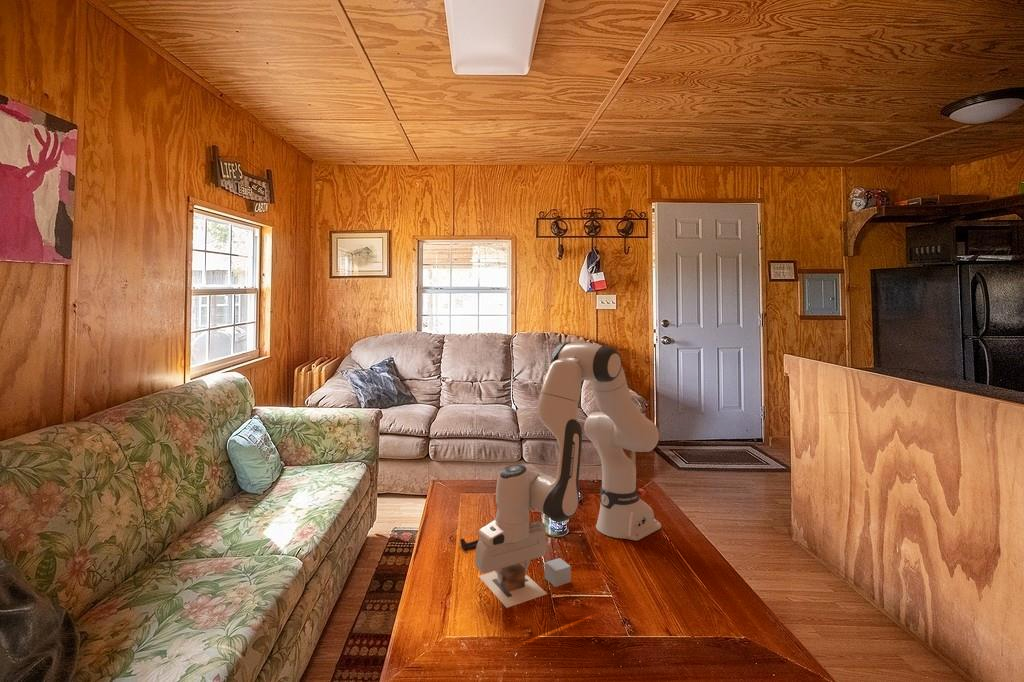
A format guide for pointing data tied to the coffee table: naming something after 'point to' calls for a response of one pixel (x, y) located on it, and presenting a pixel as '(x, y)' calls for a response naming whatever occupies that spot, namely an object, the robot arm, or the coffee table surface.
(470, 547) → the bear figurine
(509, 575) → the walnut block
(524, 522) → the robot arm
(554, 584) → the grey cube
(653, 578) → the coffee table surface
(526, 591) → the letter card
